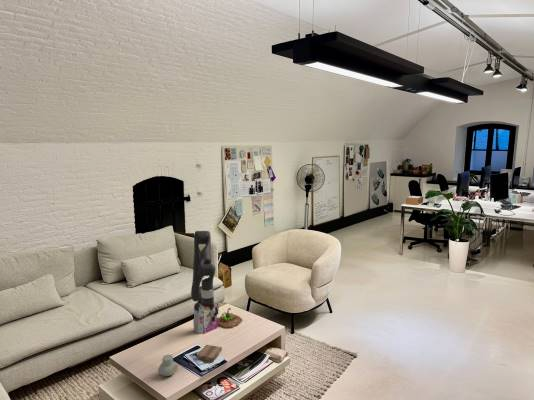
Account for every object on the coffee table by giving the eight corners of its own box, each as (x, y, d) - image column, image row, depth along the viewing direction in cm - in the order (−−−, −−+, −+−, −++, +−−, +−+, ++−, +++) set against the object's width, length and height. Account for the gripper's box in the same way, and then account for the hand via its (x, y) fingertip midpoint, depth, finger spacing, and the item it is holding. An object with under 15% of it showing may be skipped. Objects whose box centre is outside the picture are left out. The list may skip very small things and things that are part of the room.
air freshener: (168, 379, 215) (167, 363, 214) (156, 376, 219) (155, 360, 217) (179, 369, 225) (179, 353, 224) (168, 366, 229) (167, 351, 227)
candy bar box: (203, 334, 232) (202, 309, 229) (199, 332, 235) (198, 307, 233) (218, 328, 240) (217, 303, 237) (213, 325, 243) (212, 301, 241)
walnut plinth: (197, 359, 235) (196, 355, 235) (206, 348, 248) (206, 344, 247) (213, 362, 232) (212, 357, 232) (221, 351, 244) (221, 347, 244)
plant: (246, 320, 288) (246, 307, 286) (231, 331, 271) (230, 317, 270) (226, 314, 298) (225, 301, 297) (209, 324, 282) (209, 310, 280)
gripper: (194, 296, 233) (195, 321, 235) (215, 299, 229) (216, 325, 231) (200, 292, 240) (201, 316, 242) (220, 294, 236) (221, 319, 238)
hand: (208, 320), depth 237 cm, fingers closed on candy bar box, 6 cm apart
